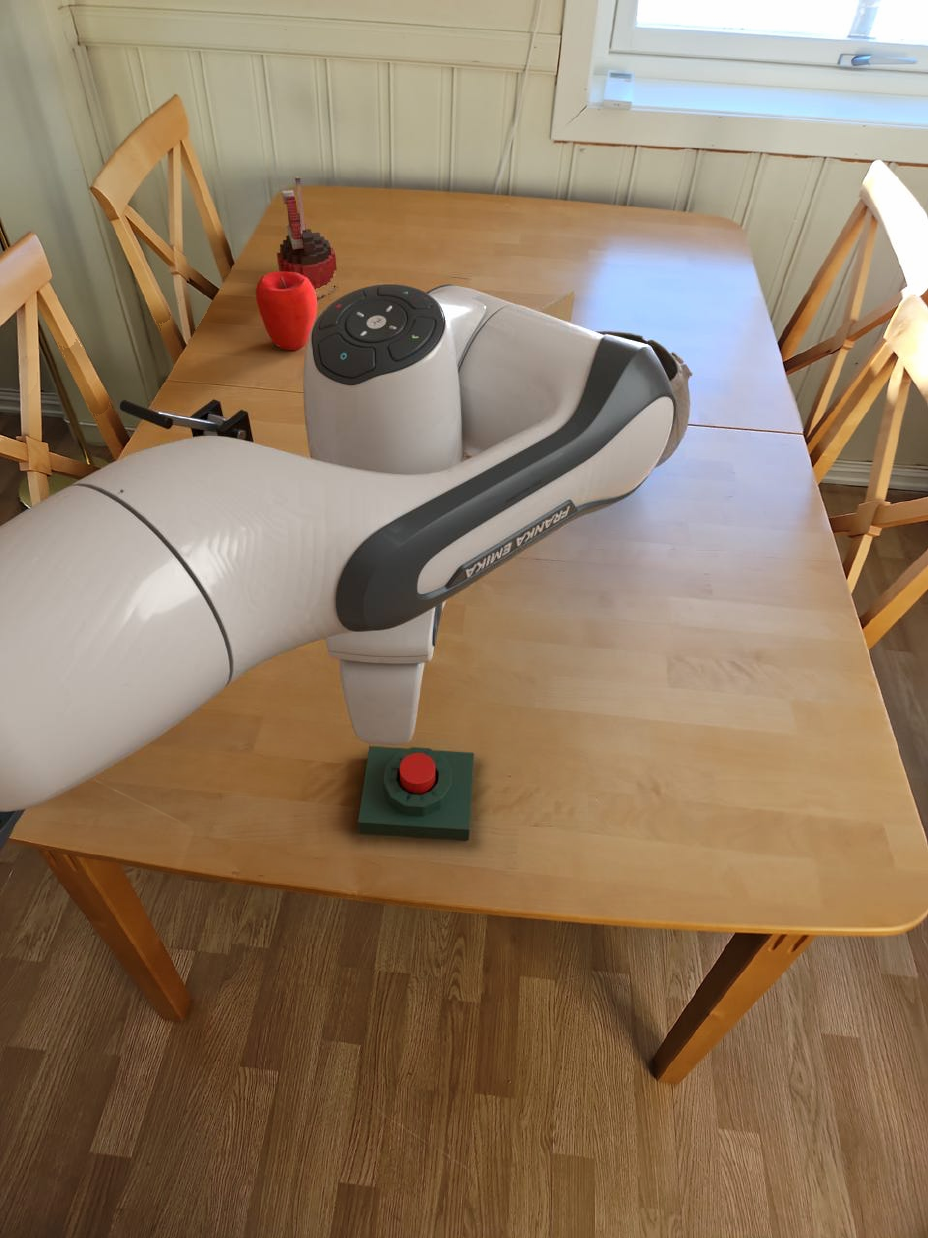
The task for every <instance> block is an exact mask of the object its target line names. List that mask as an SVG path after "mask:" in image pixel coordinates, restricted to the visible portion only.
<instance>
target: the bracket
mask: <svg viewBox="0 0 928 1238" xmlns="http://www.w3.org/2000/svg"><path fill="white" fill-rule="evenodd" d="M208 414H213V415H218V416H222V417H224V413H223V407H222V404H221V401H220V400H217V399H214V398H213V399H211V400H210V401H209V402H208V403H206V404H205V405H203V406H202V407H201V408H200V409H198V410H196V412H194V413H193V414H192V415H190V416H189V417H192V418H197V419H202V420H207V418H208ZM216 431H217V436H222V437H229V438H235V439H241V440H245V441H250V442H254V437H253V431H252V427H251V421H250V417H249V412H248V411H245V410H243V409H240V410H239V411H237V412H235V414H233V415H232V416H231V417H230V418H228V420H227V421H226V422H225V423H223V424H222V425H221V426H219V427H218V428H217V429H216ZM190 432H191V434H192V437H198V436H207V435H204V434H203V433H204V430H199V429H193V428H190ZM254 443H255V442H254Z"/></svg>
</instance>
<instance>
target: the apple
mask: <svg viewBox="0 0 928 1238" xmlns="http://www.w3.org/2000/svg"><path fill="white" fill-rule="evenodd" d="M255 302H256V304H257V308H258V311H259V315H260V318H261V320H262V323H263V325H264V328H265V330H266V332H267V334H268V337H269V338H270V339H271V341H272V343H273V344H275V345H276V344H277V345H276V347H277V348H279V349H282V350H286V351H299V350H300V349H302V348H304V347H305V346H307V343H308V338H309V334H310V331H311V329H312V326H313V324H314V322H315V321H316V319H317V318H316V317H317V312H318V297H317V296H316V292H315V289H314V287H313V285H312V284H311V282H310V281H309V279H308V278H306V277H304V276H302V275H300V274H298V273H295V272H288V271H279V270H278V271H271V272H269V273H267V274H265V275H263V276H262V277H261V278H260V279H259V280H258V282H257V284H256V287H255ZM306 342H307V343H306ZM278 345H279V346H278Z"/></svg>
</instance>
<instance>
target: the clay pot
mask: <svg viewBox="0 0 928 1238" xmlns="http://www.w3.org/2000/svg"><path fill="white" fill-rule="evenodd" d="M594 332H596V333H599V334H601V335H605V334H608V335H612V336H616V337H620V338H624V339H627V340H631V341H635V342H639V343H643V344H647V345H650V346H651V347H652V349H653V351H654V352H655V354H656V356H657V357H658V359H659V361H660V363H661V365H662V367H663V368H664V370H665V373H666V375H667V377H668V379H669V382H670V384H671V387H672V390H673V393H674V396H675V400H676V417H675V422H674V426H673V429H672V432H671V435H670V438H669V440H668V443H667V445H666V447H665V449H664V451H663V453H662V455H661V457H660V459H659V461H658V462H657V464H656V466H655V467H654V469H656V468H658V467H660V466H661V465H663V464H664V463H665V462H667V461H668V459H670V457H671V456H672V455H674V453H675V451H676V450H677V449H678V447H679V445H680V443H682V442H681V441H682V440H683V439H684V438H685V434H686V432H687V430H688V426H689V420H690V415H691V397H690V394H691V393H690V386H689V385H690V384H689V379H690V378H691V377H693V372H692V371H691V370H690V368H689V367H688V365H687V364H686V363H685V361H684V359H683V358H681V357H680V356H679V355H678V354H677V353H676V352H674V351H672V352H670V351H669V350H667V348H666V347H665V346H663V345H662V344H661V343H659V342H657V341H655V340H654V339H649V340H648V339H646V338H644V337H643V335H640V334H636V333H633V332H625V331H624V332H623V331H618V330H617V331H616V330H598V331H597V330H596V331H594Z"/></svg>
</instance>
